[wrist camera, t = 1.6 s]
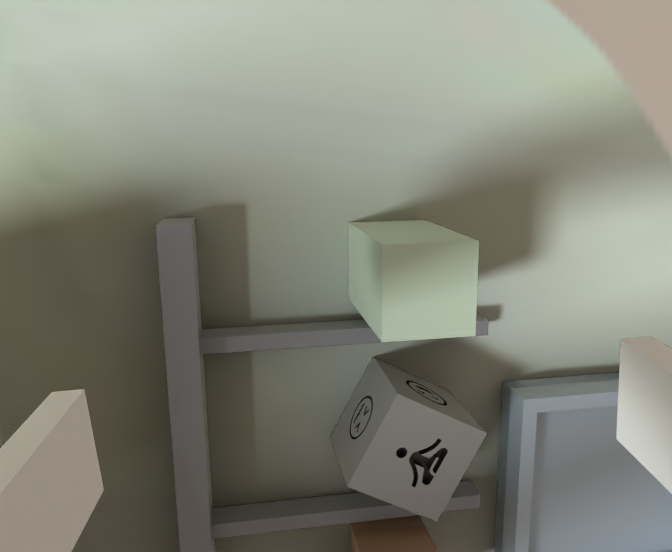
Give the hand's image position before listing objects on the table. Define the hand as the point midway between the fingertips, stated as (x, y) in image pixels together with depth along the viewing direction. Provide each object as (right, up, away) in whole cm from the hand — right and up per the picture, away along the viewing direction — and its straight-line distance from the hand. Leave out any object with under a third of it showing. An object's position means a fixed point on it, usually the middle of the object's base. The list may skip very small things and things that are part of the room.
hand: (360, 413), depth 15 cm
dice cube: (+2, -4, +19) cm, 19 cm away
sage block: (+2, +4, +16) cm, 17 cm away
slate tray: (+15, -8, +21) cm, 27 cm away
